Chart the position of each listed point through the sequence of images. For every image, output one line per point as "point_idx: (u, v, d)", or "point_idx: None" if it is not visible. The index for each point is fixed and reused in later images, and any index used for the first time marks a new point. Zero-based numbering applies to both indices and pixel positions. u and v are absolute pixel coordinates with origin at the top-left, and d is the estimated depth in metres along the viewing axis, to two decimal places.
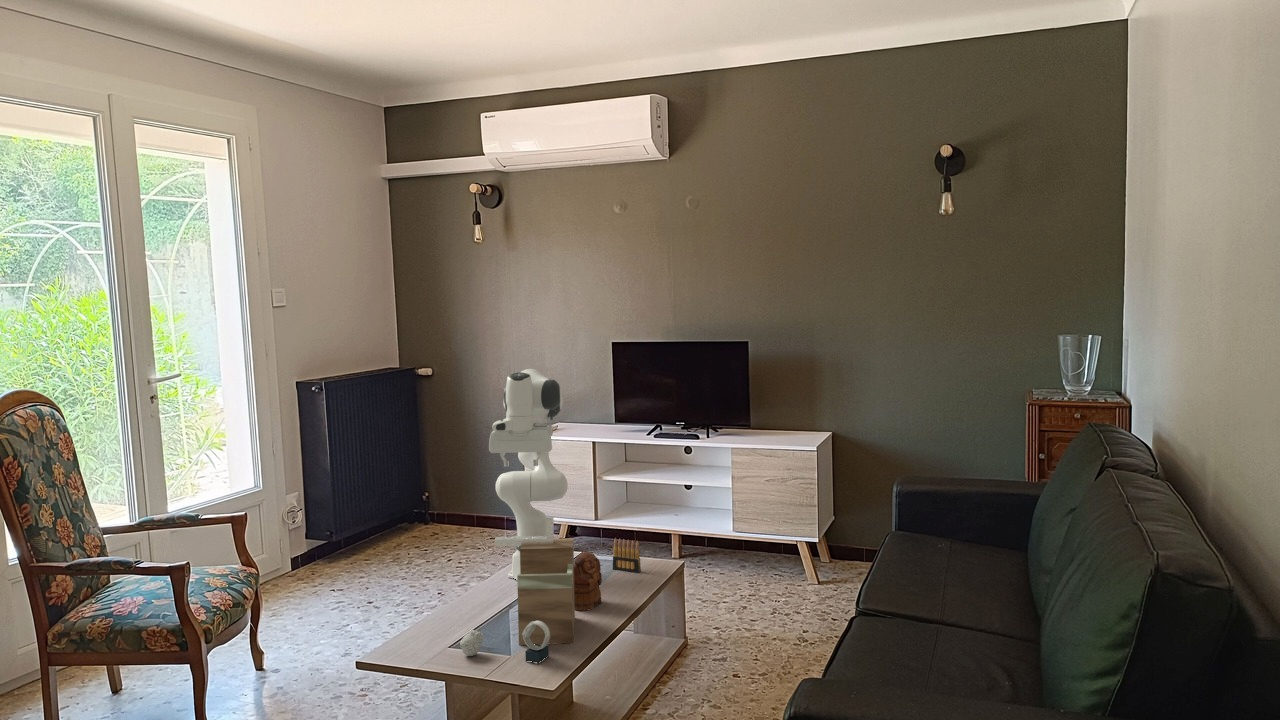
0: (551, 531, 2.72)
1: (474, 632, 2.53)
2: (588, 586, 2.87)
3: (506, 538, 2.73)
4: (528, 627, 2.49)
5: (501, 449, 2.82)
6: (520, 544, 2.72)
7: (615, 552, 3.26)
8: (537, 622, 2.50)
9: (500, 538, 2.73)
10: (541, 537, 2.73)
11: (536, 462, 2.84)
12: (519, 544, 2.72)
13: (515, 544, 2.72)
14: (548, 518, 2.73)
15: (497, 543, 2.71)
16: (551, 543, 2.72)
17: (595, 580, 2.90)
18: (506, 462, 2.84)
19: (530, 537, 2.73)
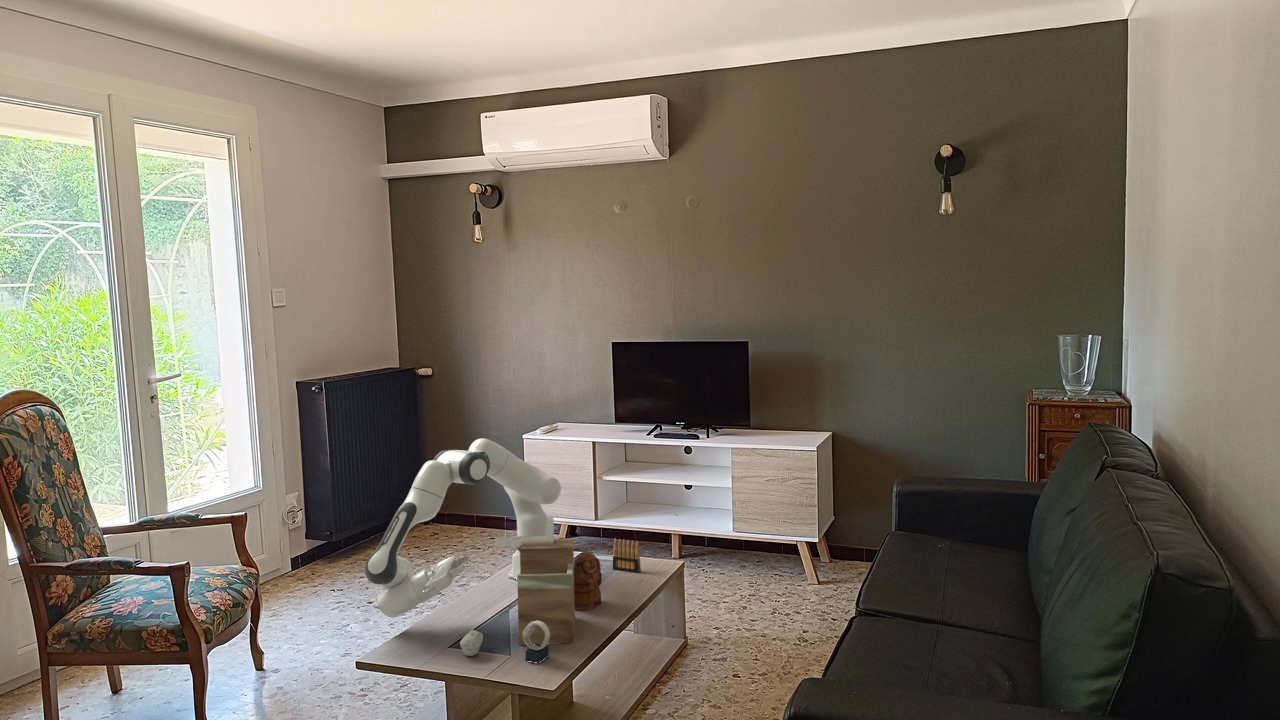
0: (551, 531, 2.72)
1: (474, 632, 2.53)
2: (588, 586, 2.87)
3: (506, 538, 2.73)
4: (528, 627, 2.49)
5: None
6: (520, 544, 2.72)
7: (615, 552, 3.26)
8: (537, 622, 2.50)
9: (500, 538, 2.73)
10: (541, 537, 2.73)
11: None
12: (519, 544, 2.72)
13: (515, 544, 2.72)
14: (548, 518, 2.73)
15: (497, 543, 2.71)
16: (551, 543, 2.72)
17: (595, 580, 2.90)
18: None
19: (530, 537, 2.73)
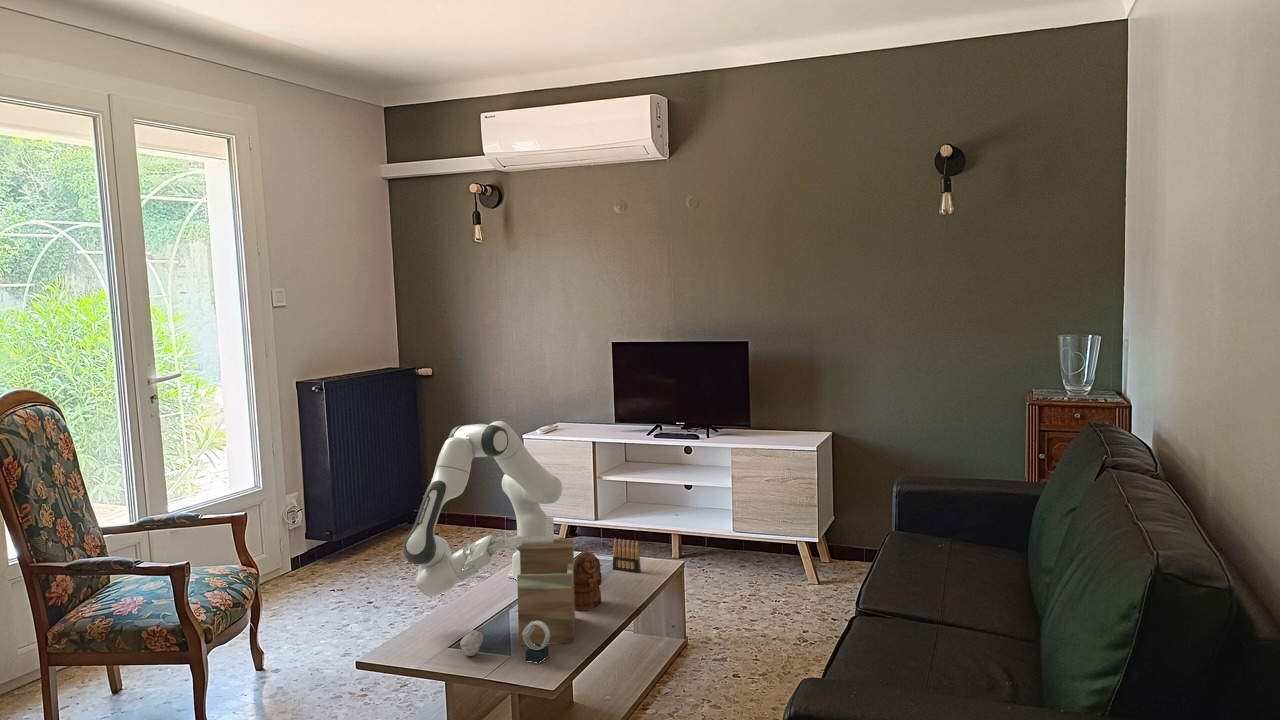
0: (551, 531, 2.72)
1: (474, 632, 2.53)
2: (588, 586, 2.87)
3: (506, 538, 2.73)
4: (528, 627, 2.49)
5: None
6: (520, 544, 2.72)
7: (615, 552, 3.26)
8: (537, 622, 2.50)
9: (500, 538, 2.73)
10: (541, 537, 2.73)
11: None
12: (519, 544, 2.72)
13: (515, 544, 2.72)
14: (548, 518, 2.73)
15: None
16: (551, 543, 2.72)
17: (595, 580, 2.90)
18: None
19: (530, 537, 2.73)
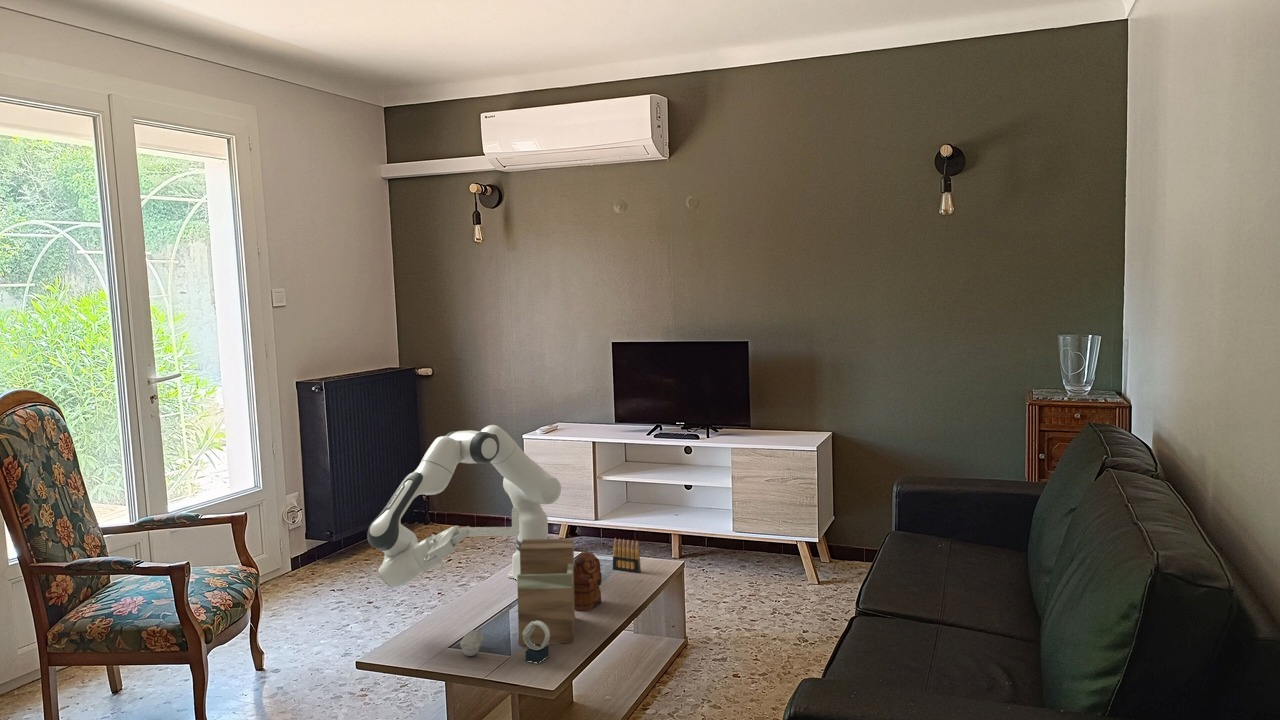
0: (516, 522, 2.67)
1: (474, 632, 2.53)
2: (588, 586, 2.87)
3: (470, 528, 2.68)
4: (528, 627, 2.49)
5: None
6: (485, 535, 2.67)
7: (615, 552, 3.26)
8: (537, 622, 2.50)
9: (464, 528, 2.68)
10: (506, 528, 2.68)
11: (465, 537, 2.66)
12: (484, 535, 2.67)
13: (479, 535, 2.67)
14: (513, 508, 2.68)
15: None
16: (516, 534, 2.67)
17: (595, 580, 2.90)
18: None
19: (495, 528, 2.69)
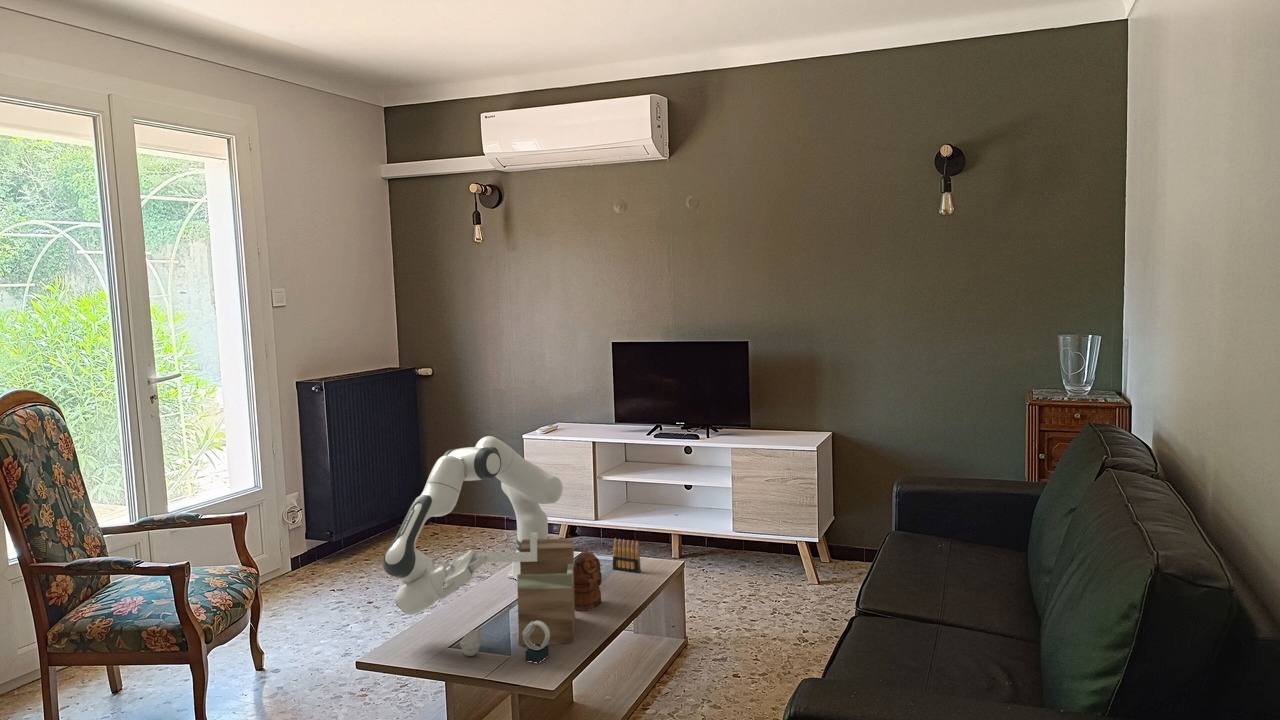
0: (535, 547, 2.62)
1: (474, 632, 2.53)
2: (588, 586, 2.87)
3: (488, 554, 2.63)
4: (528, 627, 2.49)
5: None
6: (503, 560, 2.62)
7: (615, 552, 3.26)
8: (537, 622, 2.50)
9: (482, 554, 2.63)
10: (524, 553, 2.63)
11: None
12: (501, 560, 2.62)
13: (497, 560, 2.62)
14: (532, 533, 2.63)
15: None
16: (535, 559, 2.62)
17: (595, 580, 2.90)
18: None
19: (513, 553, 2.63)
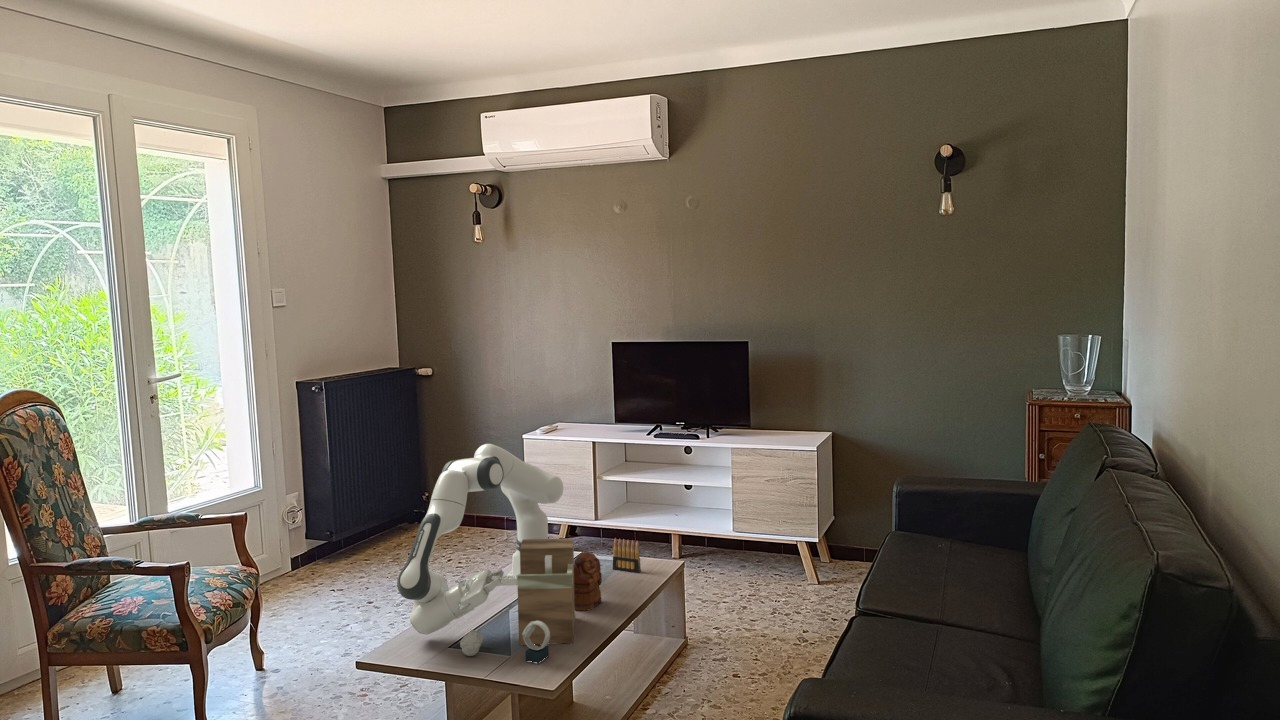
0: (549, 570, 2.63)
1: (474, 632, 2.53)
2: (588, 586, 2.87)
3: (503, 577, 2.64)
4: (528, 627, 2.49)
5: None
6: None
7: (615, 552, 3.26)
8: (537, 622, 2.50)
9: (497, 577, 2.63)
10: None
11: None
12: (516, 584, 2.62)
13: (512, 584, 2.62)
14: (546, 557, 2.64)
15: None
16: None
17: (595, 580, 2.90)
18: None
19: None
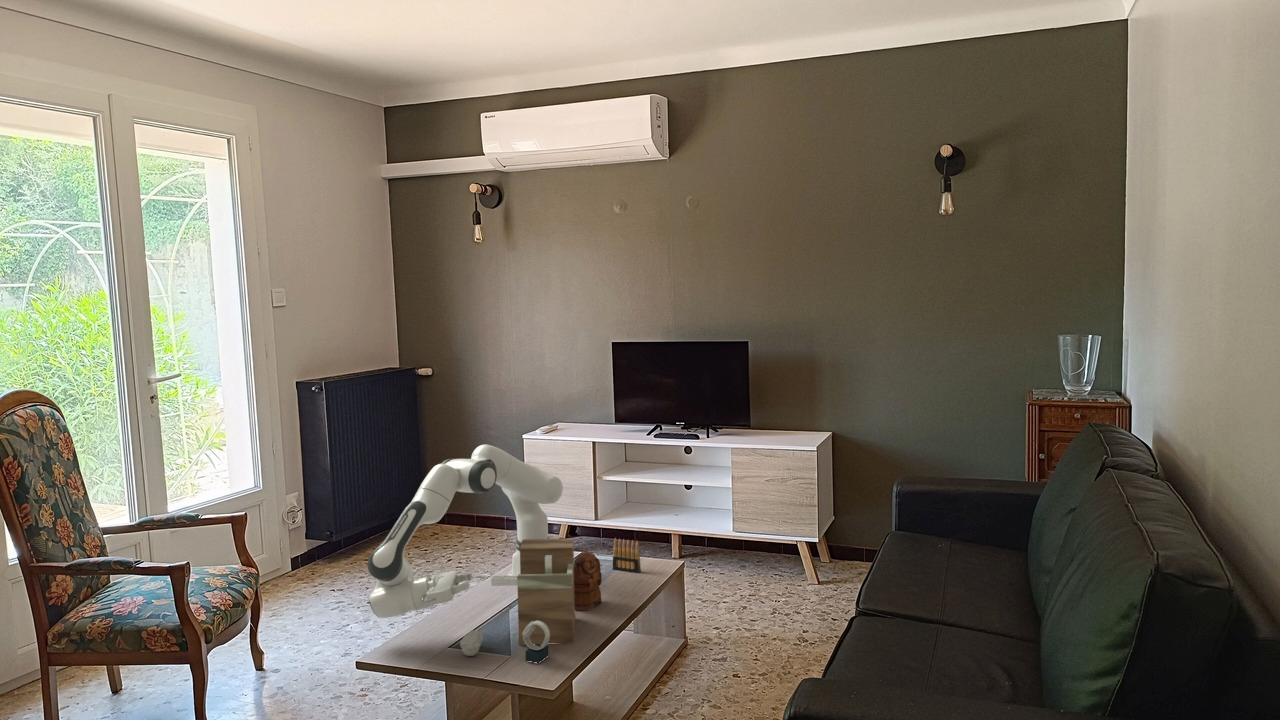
0: (549, 570, 2.63)
1: (474, 632, 2.53)
2: (588, 586, 2.87)
3: (503, 577, 2.64)
4: (528, 627, 2.49)
5: None
6: None
7: (615, 552, 3.26)
8: (537, 622, 2.50)
9: (497, 577, 2.63)
10: None
11: None
12: (516, 584, 2.62)
13: (512, 584, 2.62)
14: (546, 557, 2.64)
15: (493, 582, 2.62)
16: None
17: (595, 580, 2.90)
18: None
19: None
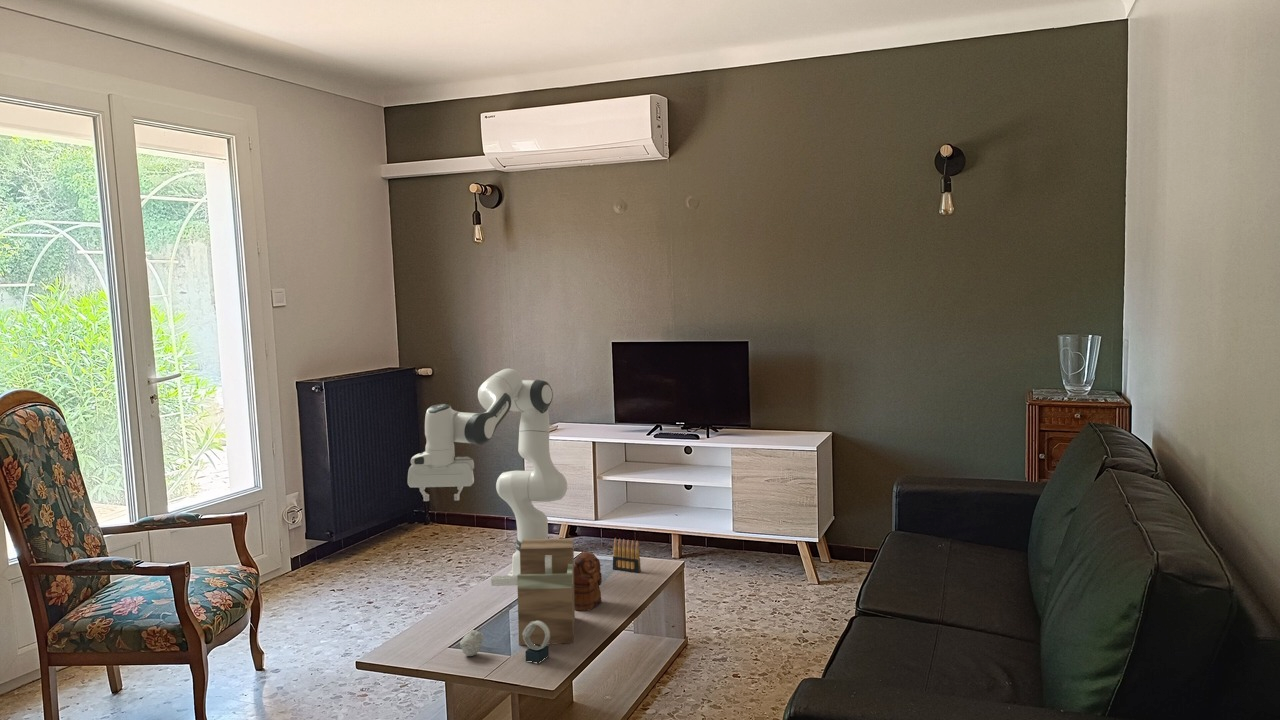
0: (549, 570, 2.63)
1: (474, 632, 2.53)
2: (588, 586, 2.87)
3: (503, 577, 2.64)
4: (528, 627, 2.49)
5: (420, 483, 2.73)
6: None
7: (615, 552, 3.26)
8: (537, 622, 2.50)
9: (497, 577, 2.63)
10: None
11: (457, 497, 2.75)
12: (516, 584, 2.62)
13: (512, 584, 2.62)
14: (546, 557, 2.64)
15: (493, 582, 2.62)
16: None
17: (595, 580, 2.90)
18: (426, 497, 2.75)
19: None
